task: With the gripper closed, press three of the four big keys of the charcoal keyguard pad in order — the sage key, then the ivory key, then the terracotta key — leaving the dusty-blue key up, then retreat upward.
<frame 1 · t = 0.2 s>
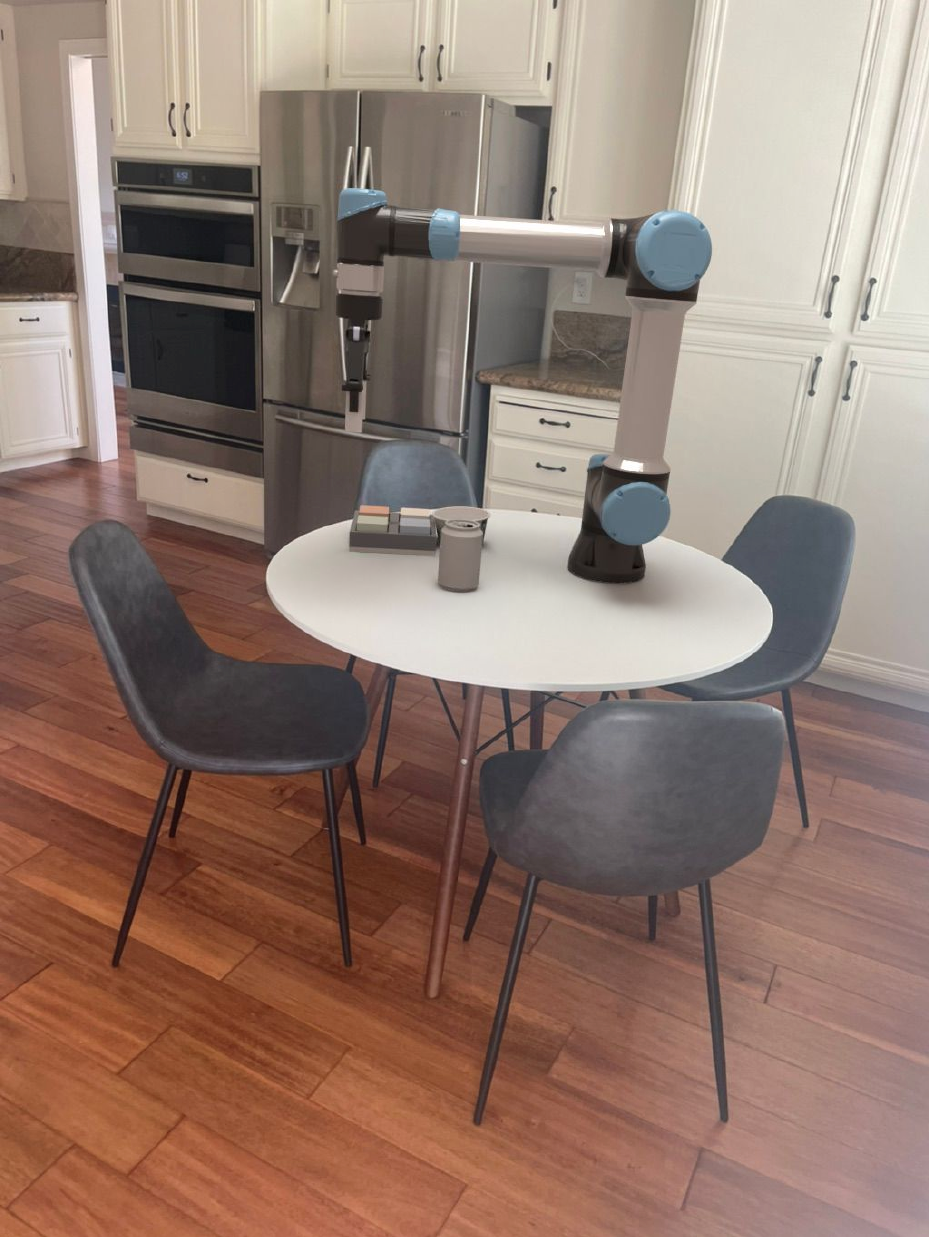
hand: (355, 425, 160), 28 cm above the table, fingers open, 13 cm apart
keypad: (393, 541, 194), on the table
key 3: (414, 528, 189), point 4 cm above the table, slide at 0.0 cm
key 4: (414, 517, 197), point 4 cm above the table, slide at 0.0 cm
can: (458, 587, 171), on the table
key 1: (372, 526, 188), point 4 cm above the table, slide at 0.0 cm
food container: (460, 544, 196), on the table
key 2: (374, 515, 196), point 4 cm above the table, slide at 0.0 cm
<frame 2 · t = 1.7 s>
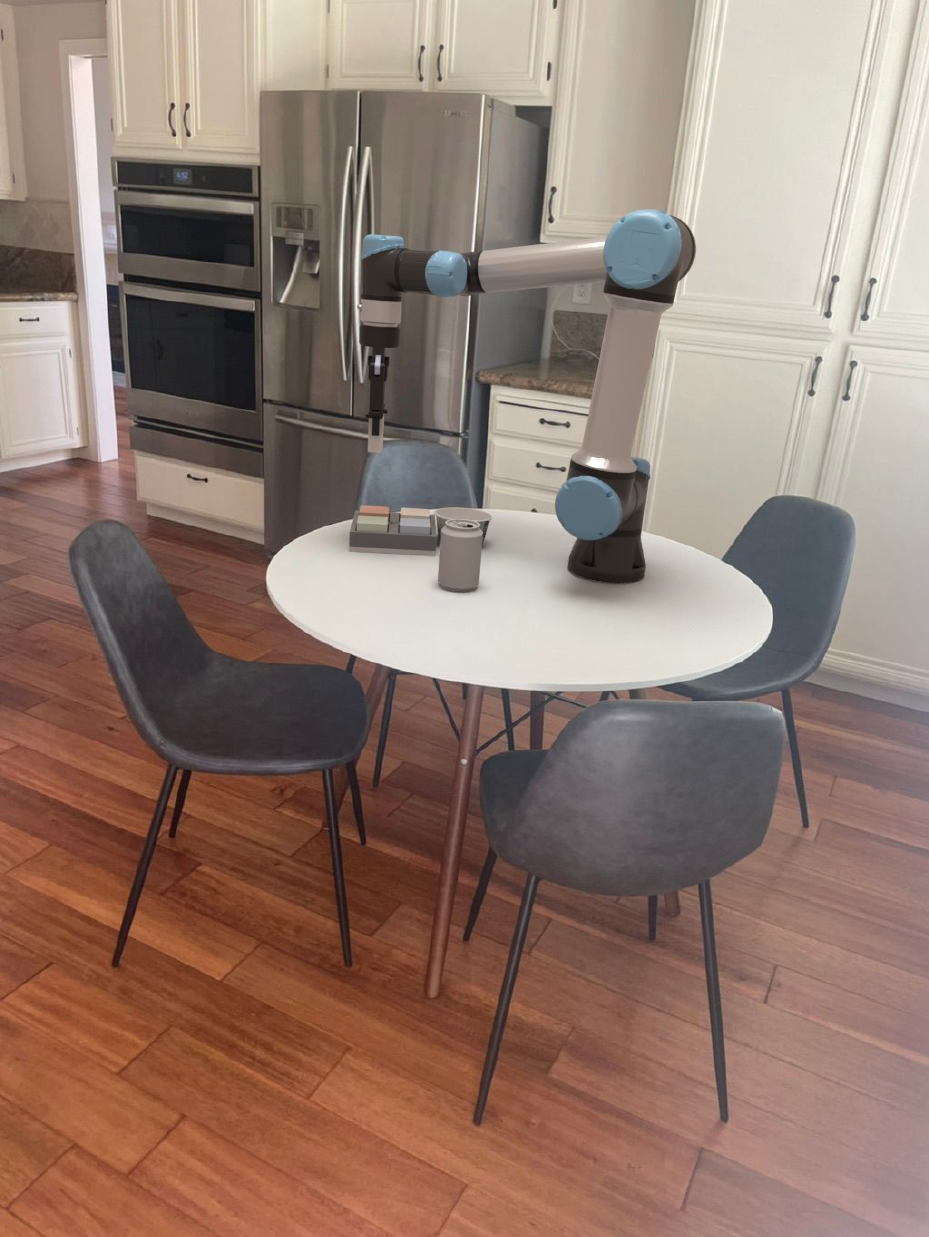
hand: (375, 449, 183), 20 cm above the table, fingers open, 4 cm apart
nothing on the table moved.
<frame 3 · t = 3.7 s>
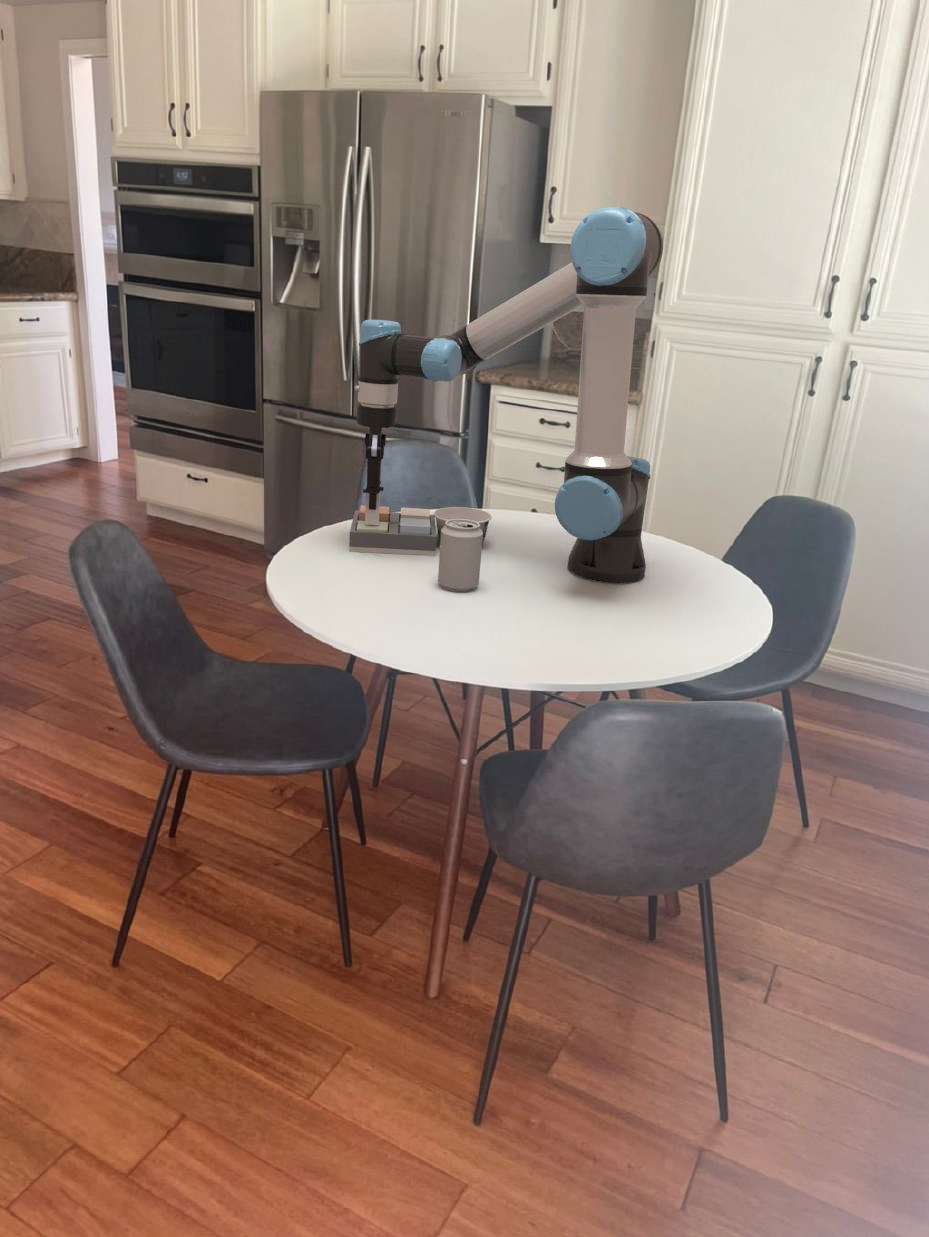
hand: (371, 523, 188), 5 cm above the table, fingers closed
key 1: (372, 531, 189), point 3 cm above the table, slide at -1.1 cm, touching gripper
everything else where it was.
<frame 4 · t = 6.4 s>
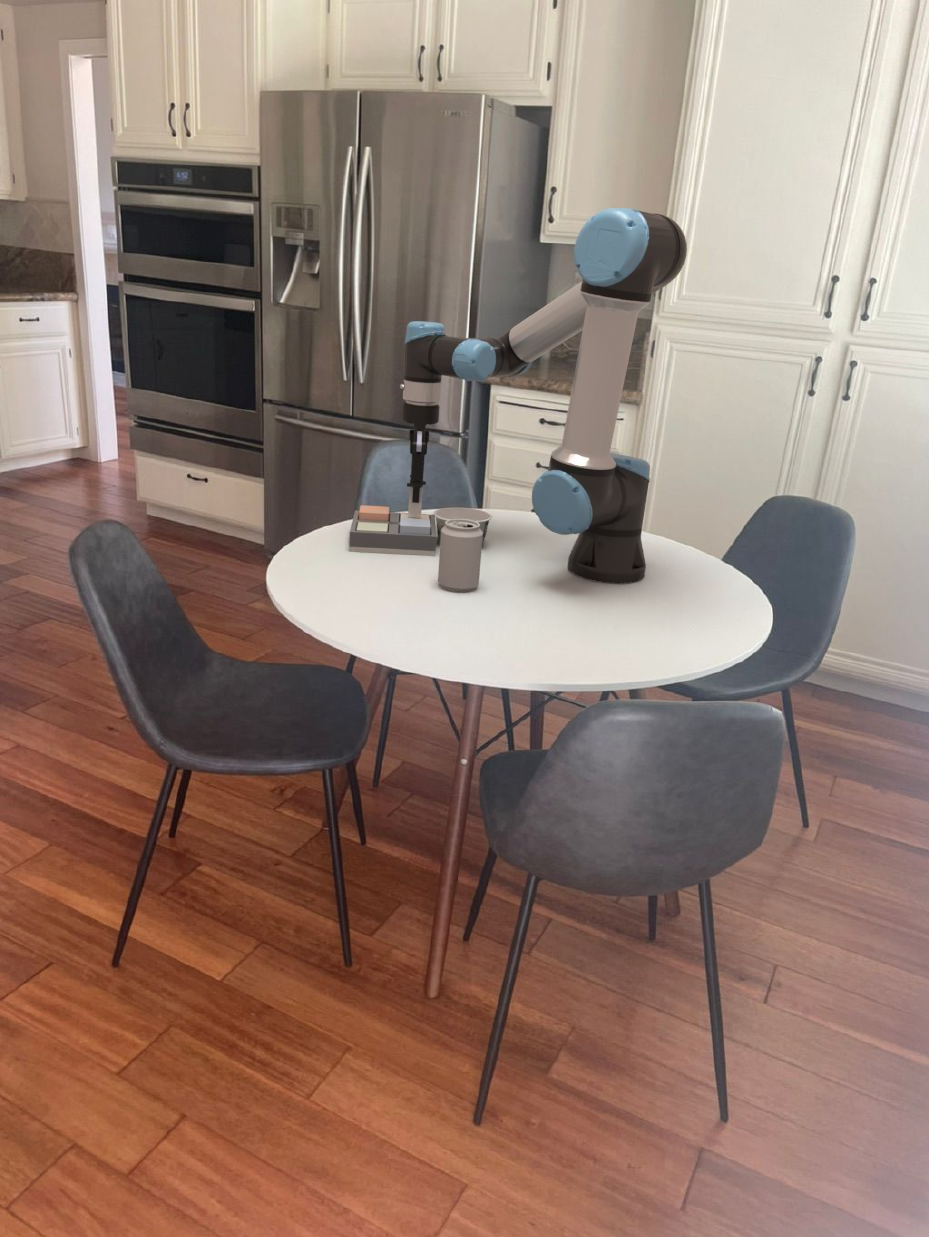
hand: (414, 516, 197), 4 cm above the table, fingers closed
key 4: (414, 523, 197), point 3 cm above the table, slide at -1.3 cm, touching gripper
key 1: (372, 532, 189), point 3 cm above the table, slide at -1.4 cm
everything else where it was.
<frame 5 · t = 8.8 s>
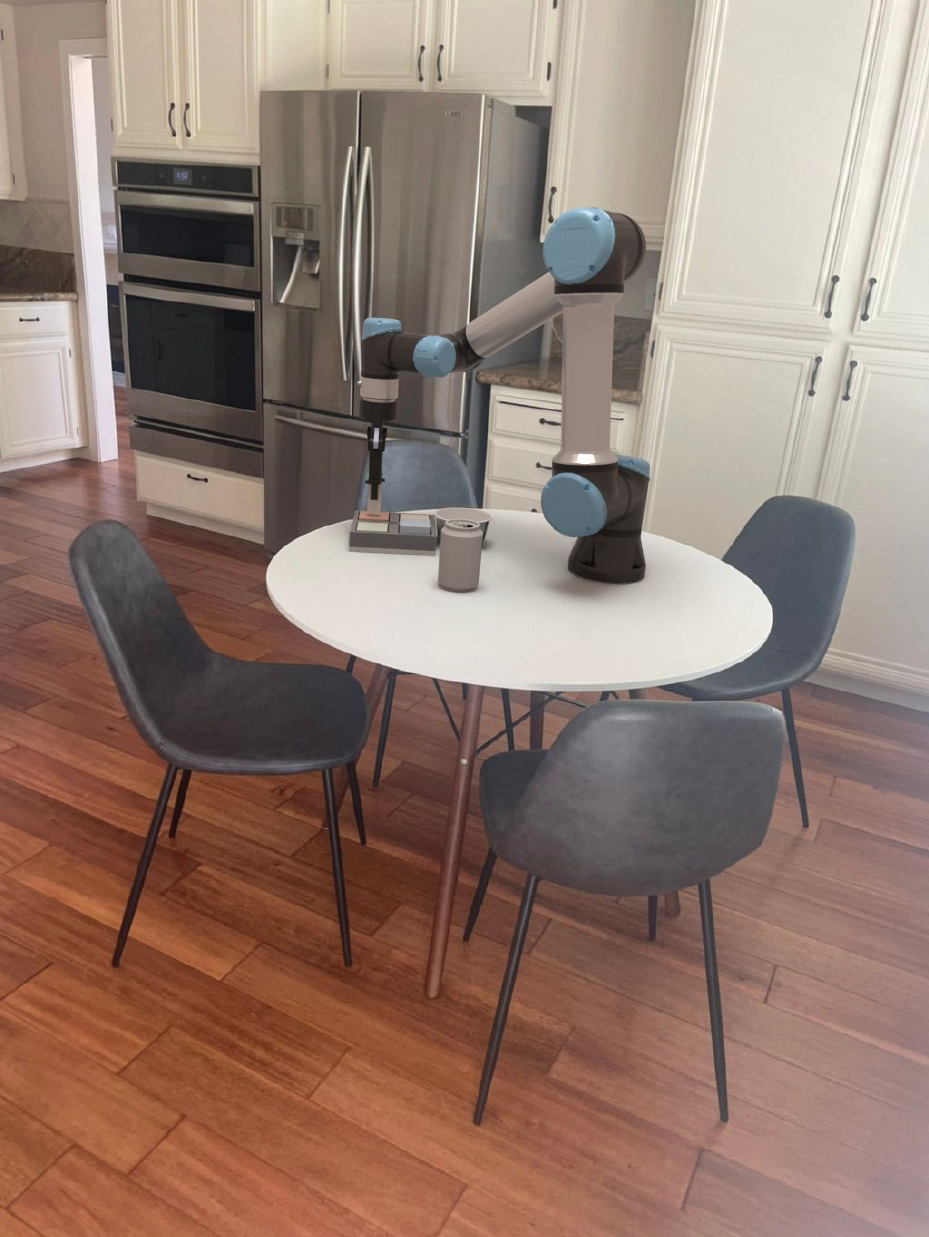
hand: (373, 513, 196), 5 cm above the table, fingers closed
key 4: (414, 524, 198), point 3 cm above the table, slide at -1.4 cm
key 2: (374, 520, 197), point 3 cm above the table, slide at -1.2 cm, touching gripper
everything else where it was.
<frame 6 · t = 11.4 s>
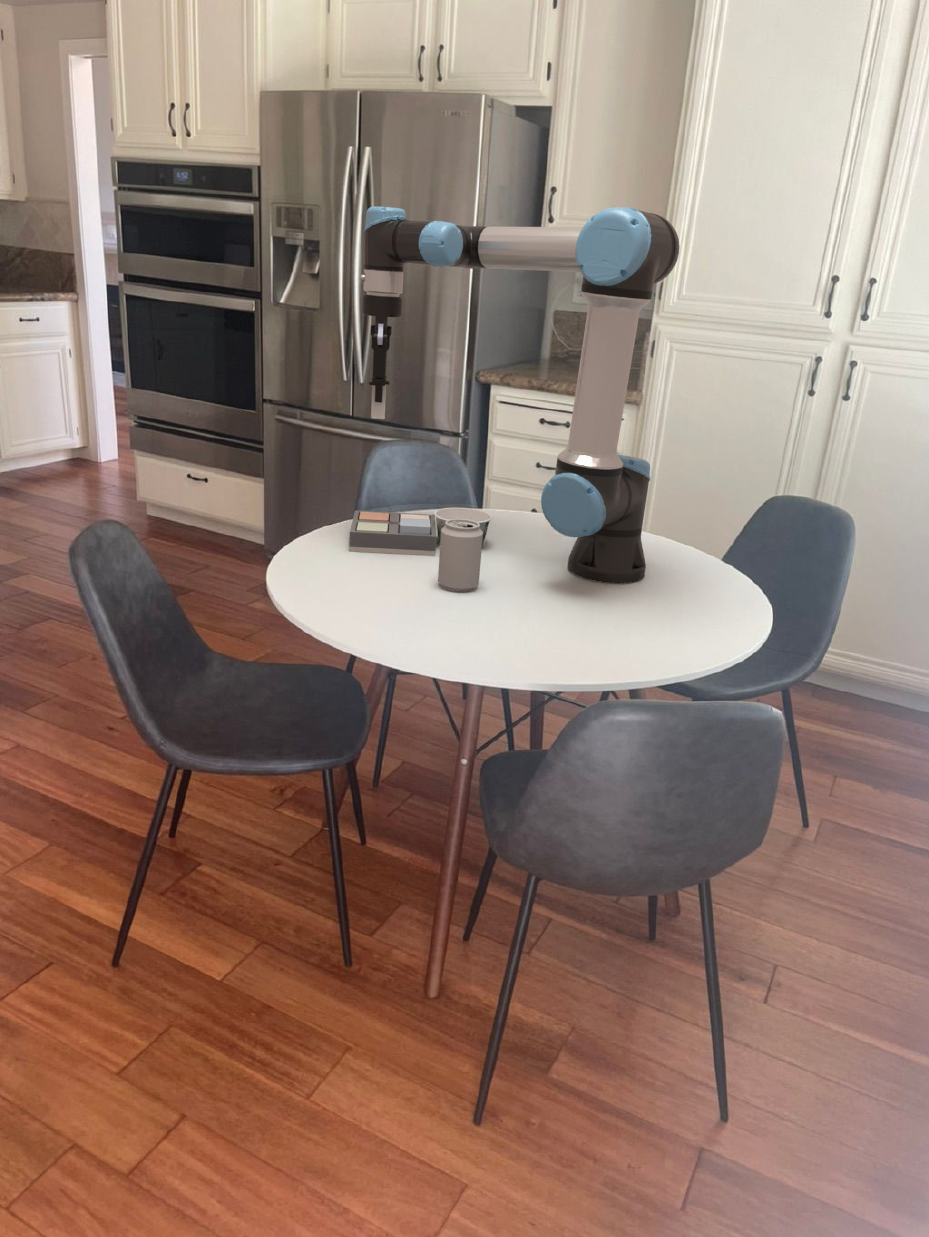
hand: (377, 418, 189), 24 cm above the table, fingers closed
key 2: (374, 521, 197), point 3 cm above the table, slide at -1.4 cm
everything else where it was.
at the end: key 1 slide at -1.4 cm; key 4 slide at -1.4 cm; key 2 slide at -1.4 cm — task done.
